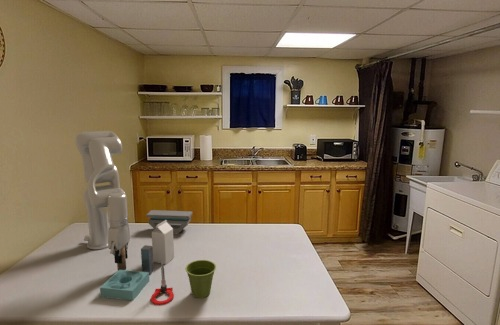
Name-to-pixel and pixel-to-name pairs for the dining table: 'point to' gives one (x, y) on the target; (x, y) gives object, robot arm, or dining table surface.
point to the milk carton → (163, 243)
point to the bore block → (124, 285)
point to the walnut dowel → (123, 264)
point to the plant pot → (200, 277)
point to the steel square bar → (147, 259)
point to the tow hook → (162, 290)
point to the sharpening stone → (170, 219)
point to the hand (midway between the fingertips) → (121, 260)
